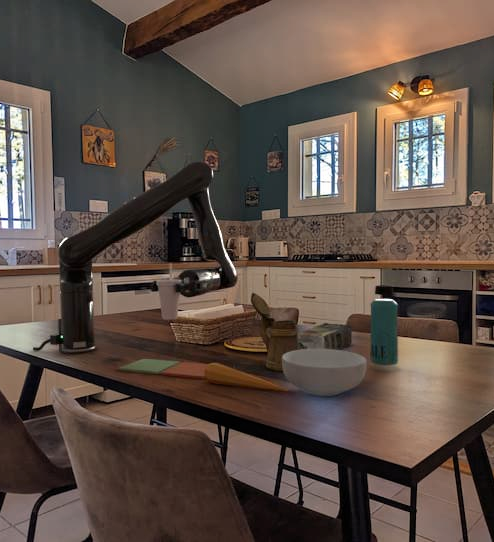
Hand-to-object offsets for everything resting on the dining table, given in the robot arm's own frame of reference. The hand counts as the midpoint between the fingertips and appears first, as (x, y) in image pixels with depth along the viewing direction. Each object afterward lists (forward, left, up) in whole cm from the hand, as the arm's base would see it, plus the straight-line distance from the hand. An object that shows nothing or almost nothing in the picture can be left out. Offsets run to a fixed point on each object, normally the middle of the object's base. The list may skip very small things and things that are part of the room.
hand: (164, 287), depth 126 cm
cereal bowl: (+42, -7, -20) cm, 47 cm away
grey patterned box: (+32, +34, -20) cm, 50 cm away
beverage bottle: (+51, +16, -20) cm, 57 cm away
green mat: (-3, -2, -20) cm, 20 cm away
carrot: (+26, -10, -20) cm, 34 cm away
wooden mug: (+26, +10, -20) cm, 34 cm away
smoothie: (0, +2, -8) cm, 9 cm away
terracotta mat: (+9, -2, -20) cm, 22 cm away
